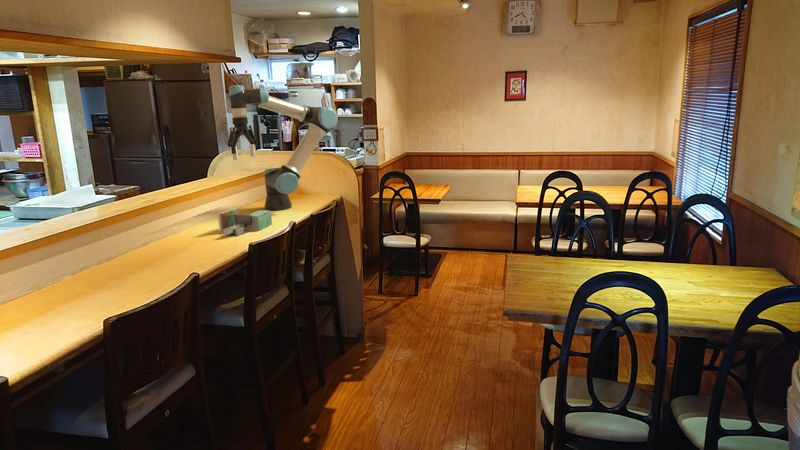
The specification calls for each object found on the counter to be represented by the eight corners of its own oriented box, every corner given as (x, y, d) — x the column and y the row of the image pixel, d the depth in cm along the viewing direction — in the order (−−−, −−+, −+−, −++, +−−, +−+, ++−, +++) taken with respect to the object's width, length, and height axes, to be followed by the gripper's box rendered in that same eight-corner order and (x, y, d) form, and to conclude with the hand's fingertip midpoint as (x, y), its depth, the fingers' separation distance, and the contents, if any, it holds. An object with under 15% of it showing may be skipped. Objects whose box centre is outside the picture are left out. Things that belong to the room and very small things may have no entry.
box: (272, 224, 266) (271, 209, 264) (259, 231, 254) (257, 216, 252) (259, 223, 268) (258, 209, 266) (245, 231, 256) (243, 216, 254)
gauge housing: (238, 226, 264) (235, 207, 262) (257, 228, 259) (255, 208, 257) (217, 234, 251) (214, 214, 248) (237, 236, 246) (234, 215, 243)
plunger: (233, 226, 258) (231, 213, 257) (252, 227, 254) (251, 214, 252) (213, 233, 246) (211, 220, 245) (233, 234, 242) (231, 221, 240)
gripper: (249, 115, 282) (254, 155, 287) (216, 118, 260) (222, 161, 265) (261, 115, 279) (265, 155, 284) (228, 118, 257) (234, 161, 262)
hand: (244, 158), depth 274 cm, fingers open, 13 cm apart
